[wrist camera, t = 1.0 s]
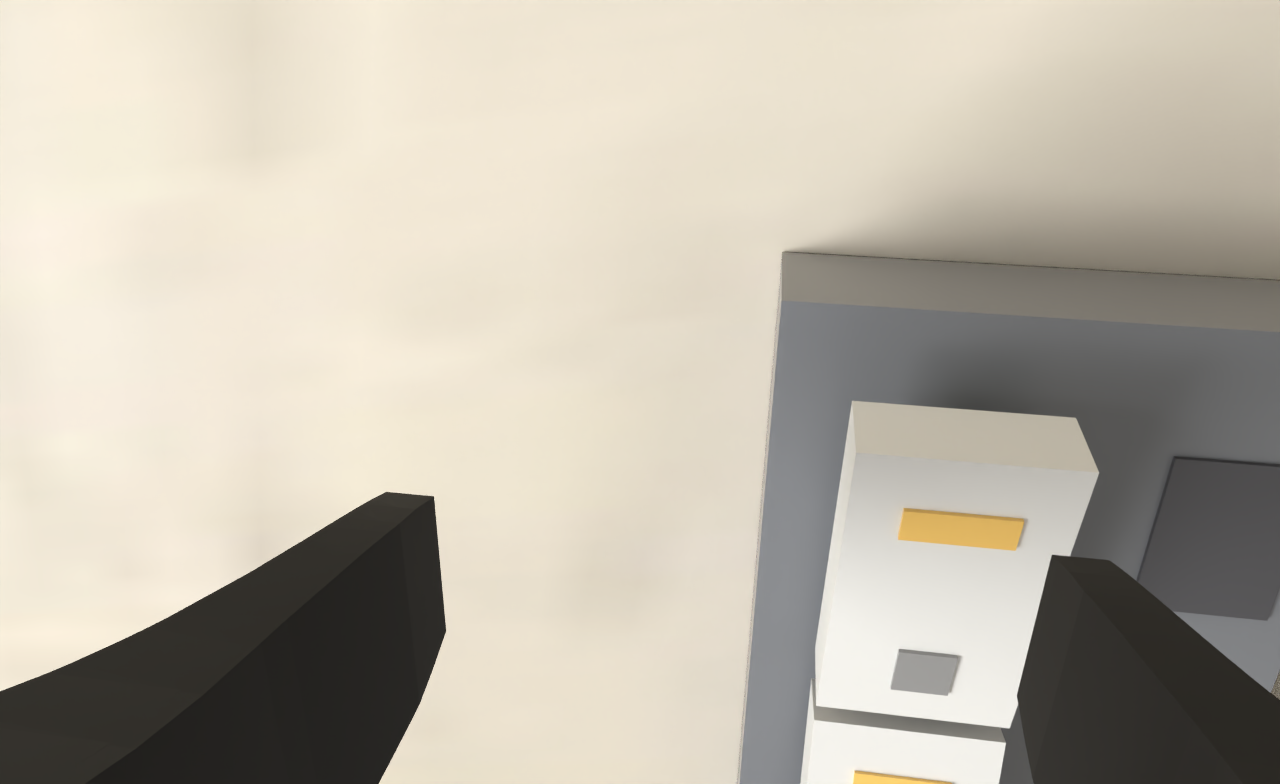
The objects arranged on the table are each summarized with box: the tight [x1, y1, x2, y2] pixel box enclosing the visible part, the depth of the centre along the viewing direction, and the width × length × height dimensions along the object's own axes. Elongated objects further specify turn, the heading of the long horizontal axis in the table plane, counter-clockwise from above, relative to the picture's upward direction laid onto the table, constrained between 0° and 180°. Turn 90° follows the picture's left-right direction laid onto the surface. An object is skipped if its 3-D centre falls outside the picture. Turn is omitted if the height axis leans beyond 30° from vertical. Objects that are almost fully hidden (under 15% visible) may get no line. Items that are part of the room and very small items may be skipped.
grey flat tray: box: [737, 252, 1280, 784], centre depth 21 cm, size 22×10×3 cm, turn 179°
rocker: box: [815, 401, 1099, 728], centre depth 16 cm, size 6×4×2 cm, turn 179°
